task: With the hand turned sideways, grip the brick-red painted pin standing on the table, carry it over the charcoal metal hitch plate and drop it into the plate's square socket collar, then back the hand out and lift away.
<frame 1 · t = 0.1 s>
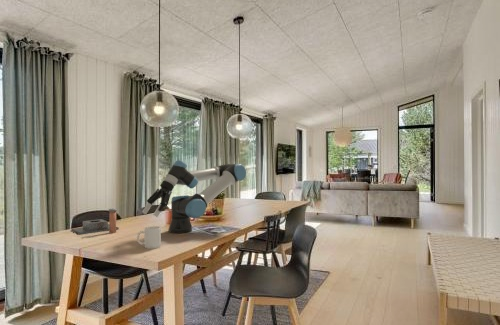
hand: (149, 214, 184), 15 cm above the table, tool tilted 35°, fingers open, 13 cm apart
pin: (112, 232, 208), on the table
hitch plate: (95, 229, 217), on the table
cup: (149, 247, 171), on the table
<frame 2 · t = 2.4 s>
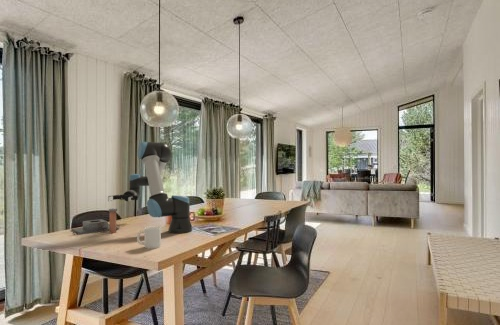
hand: (118, 199, 217), 20 cm above the table, tool horizontal, fingers open, 13 cm apart
nothing on the table moved.
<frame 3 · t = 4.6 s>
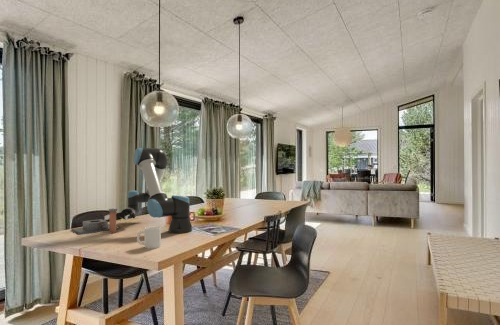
hand: (115, 218, 213), 8 cm above the table, tool horizontal, fingers open, 13 cm apart
nothing on the table moved.
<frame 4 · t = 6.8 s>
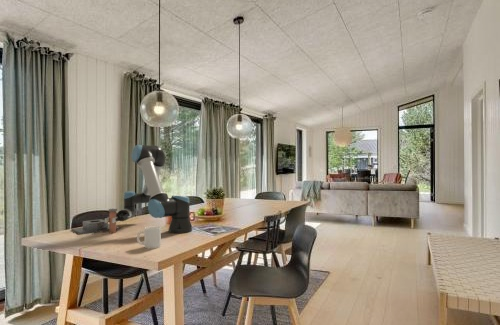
hand: (109, 220, 203), 8 cm above the table, tool horizontal, fingers closed on pin, 4 cm apart
pin: (112, 232, 208), on the table, touching gripper
everything else where it was.
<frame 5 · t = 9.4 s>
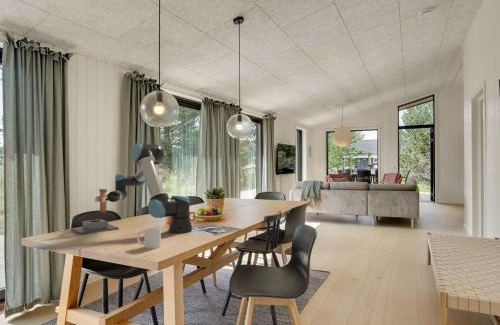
hand: (99, 199, 208), 21 cm above the table, tool horizontal, fingers closed on pin, 4 cm apart
pin: (103, 211, 214), point 13 cm above the table, touching gripper
everything else where it was.
when the fingers open (12 cm above the table, at t = 12.2 s): pin drops 2 cm, resting on hitch plate.
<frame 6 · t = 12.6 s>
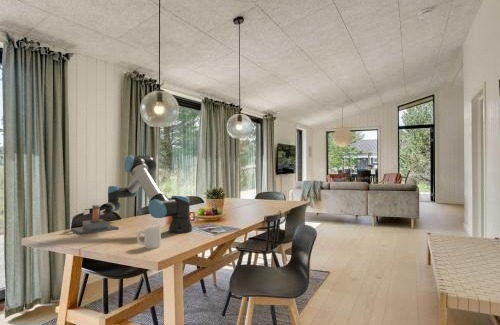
hand: (92, 212, 212), 12 cm above the table, tool horizontal, fingers open, 10 cm apart
pin: (95, 227, 217), point 1 cm above the table, touching hitch plate
everything else where it was.
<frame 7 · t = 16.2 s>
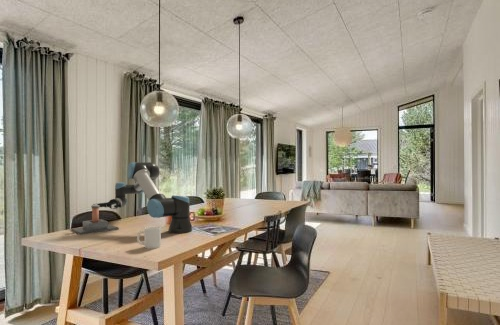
hand: (102, 207, 226), 14 cm above the table, tool horizontal, fingers open, 13 cm apart
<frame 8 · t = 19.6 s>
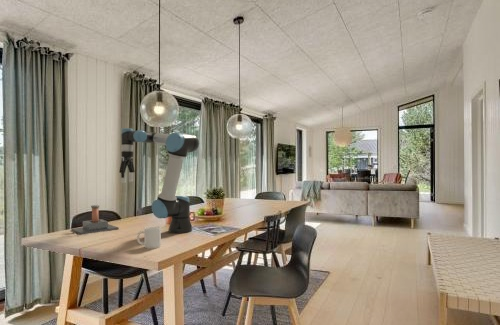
hand: (127, 182, 221), 32 cm above the table, tool pointing down, fingers open, 13 cm apart
nothing on the table moved.
at the end: pin 0.1 cm off-centre on the hitch plate, point 1.2 cm above the hitch plate's base; pin tilted 0°; the gripper is holding nothing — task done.
